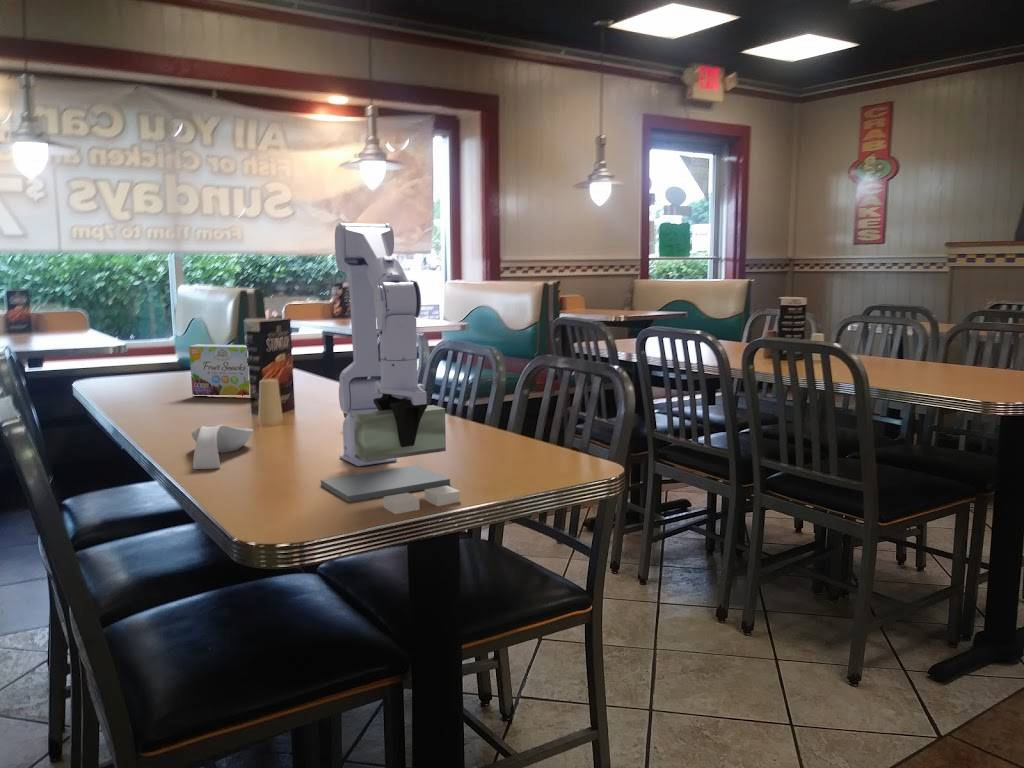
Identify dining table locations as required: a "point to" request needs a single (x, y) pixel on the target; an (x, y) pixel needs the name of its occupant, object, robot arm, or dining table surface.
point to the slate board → (384, 483)
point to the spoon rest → (217, 444)
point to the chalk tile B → (442, 495)
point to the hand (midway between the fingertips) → (400, 443)
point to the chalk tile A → (401, 503)
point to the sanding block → (381, 435)
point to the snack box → (219, 369)
